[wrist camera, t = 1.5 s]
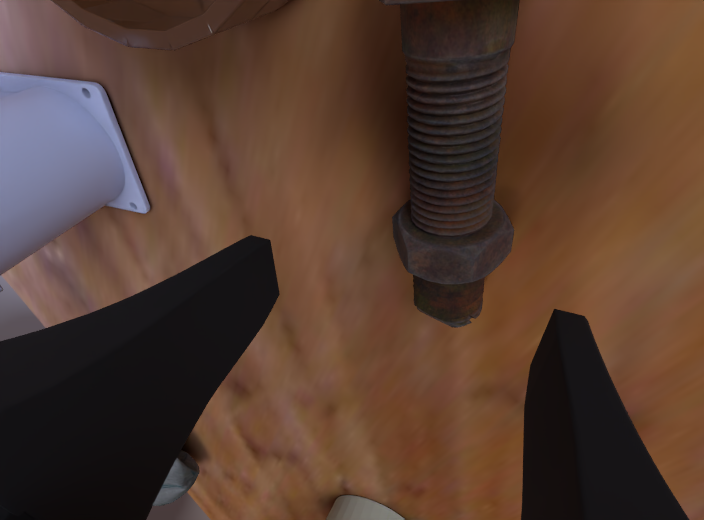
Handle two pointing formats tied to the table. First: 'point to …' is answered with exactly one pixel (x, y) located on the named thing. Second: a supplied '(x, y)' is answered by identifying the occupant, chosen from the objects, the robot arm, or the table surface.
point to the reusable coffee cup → (360, 510)
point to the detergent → (178, 479)
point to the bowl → (164, 19)
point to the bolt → (454, 150)
